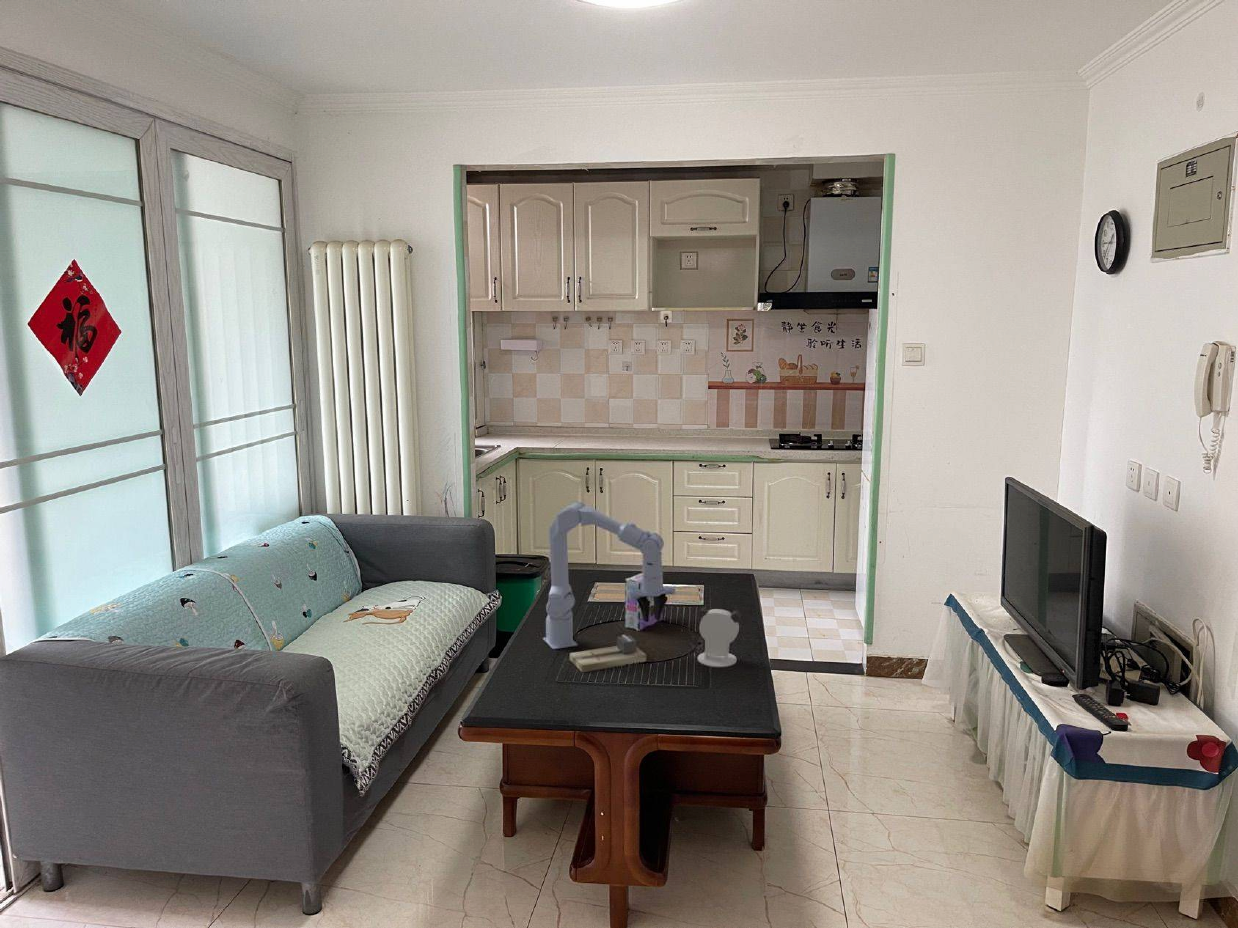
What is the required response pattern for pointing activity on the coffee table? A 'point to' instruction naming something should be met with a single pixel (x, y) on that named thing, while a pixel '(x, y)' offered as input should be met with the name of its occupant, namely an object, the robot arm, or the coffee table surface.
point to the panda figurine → (718, 636)
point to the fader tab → (626, 644)
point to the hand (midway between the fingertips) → (651, 619)
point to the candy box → (637, 606)
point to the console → (605, 658)
